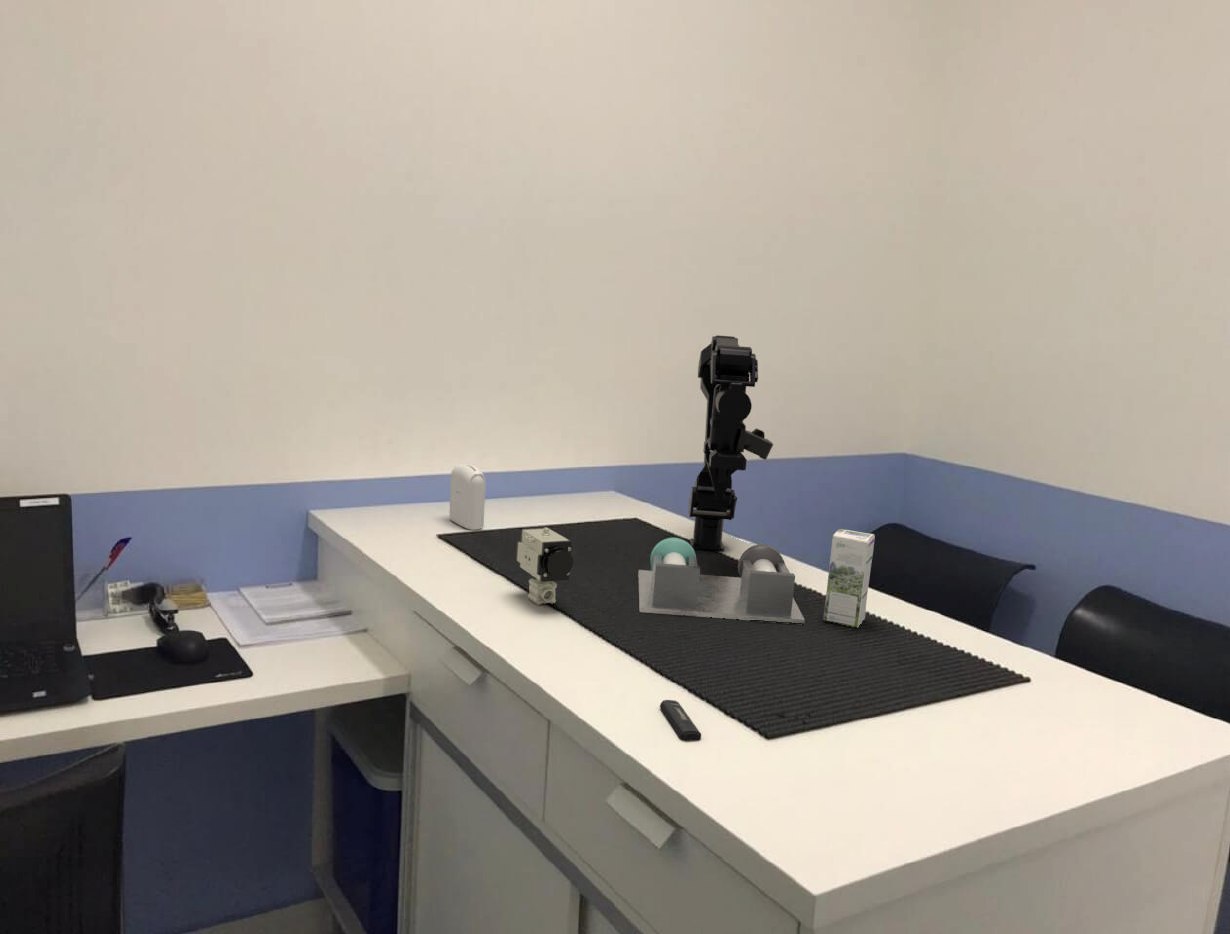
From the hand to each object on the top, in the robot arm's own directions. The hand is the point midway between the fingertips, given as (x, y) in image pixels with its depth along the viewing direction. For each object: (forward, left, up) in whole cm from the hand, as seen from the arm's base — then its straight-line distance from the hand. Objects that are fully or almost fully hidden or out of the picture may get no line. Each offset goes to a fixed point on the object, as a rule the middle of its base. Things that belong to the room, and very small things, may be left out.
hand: (719, 499), depth 189 cm
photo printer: (-19, -49, -13) cm, 54 cm away
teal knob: (+21, -9, -12) cm, 25 cm away
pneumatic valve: (+28, -30, -13) cm, 43 cm away
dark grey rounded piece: (+21, +7, -12) cm, 25 cm away
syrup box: (+26, +19, -13) cm, 35 cm away
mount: (+19, -1, -13) cm, 23 cm away
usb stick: (+70, -10, -14) cm, 72 cm away
